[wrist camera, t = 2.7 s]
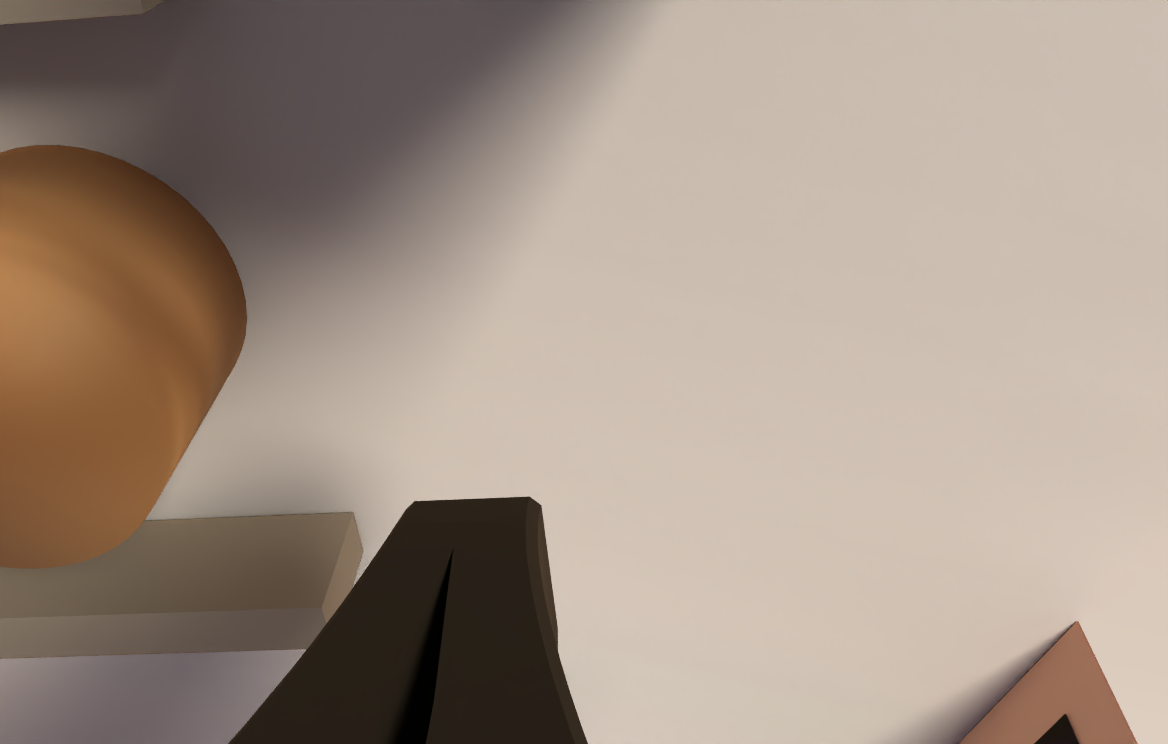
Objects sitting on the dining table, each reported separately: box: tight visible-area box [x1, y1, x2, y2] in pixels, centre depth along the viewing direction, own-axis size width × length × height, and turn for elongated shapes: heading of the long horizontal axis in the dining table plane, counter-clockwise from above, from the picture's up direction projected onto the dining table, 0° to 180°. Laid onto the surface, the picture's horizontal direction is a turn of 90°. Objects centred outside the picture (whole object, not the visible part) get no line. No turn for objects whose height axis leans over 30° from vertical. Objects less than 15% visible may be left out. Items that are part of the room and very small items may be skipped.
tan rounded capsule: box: [0, 145, 247, 569], centre depth 16 cm, size 5×5×4 cm
